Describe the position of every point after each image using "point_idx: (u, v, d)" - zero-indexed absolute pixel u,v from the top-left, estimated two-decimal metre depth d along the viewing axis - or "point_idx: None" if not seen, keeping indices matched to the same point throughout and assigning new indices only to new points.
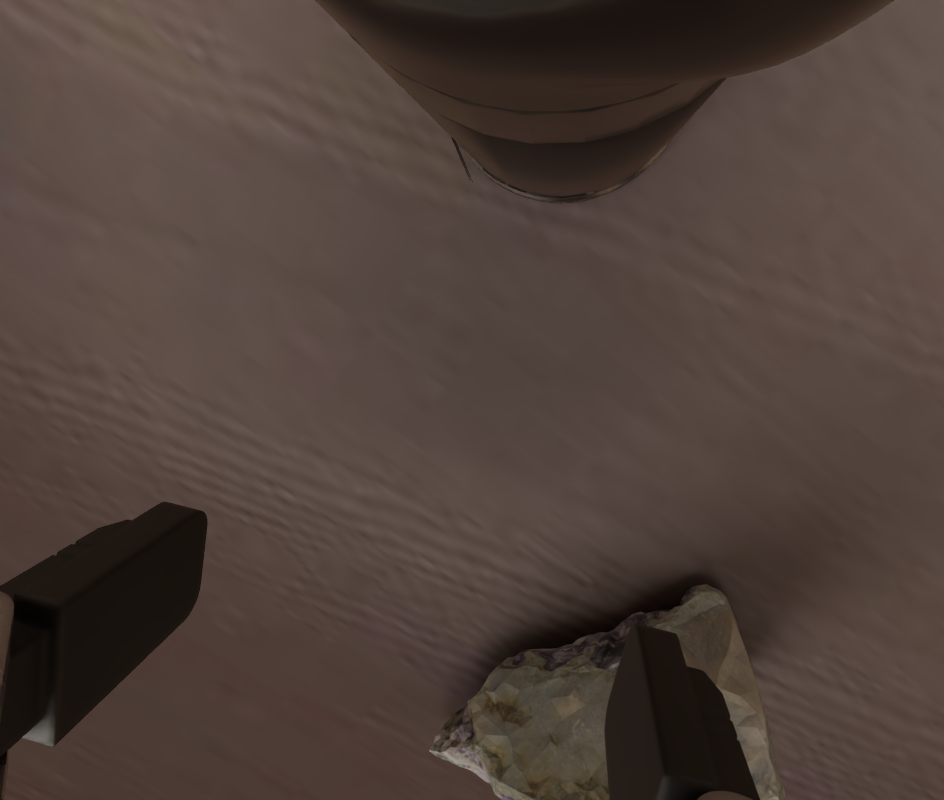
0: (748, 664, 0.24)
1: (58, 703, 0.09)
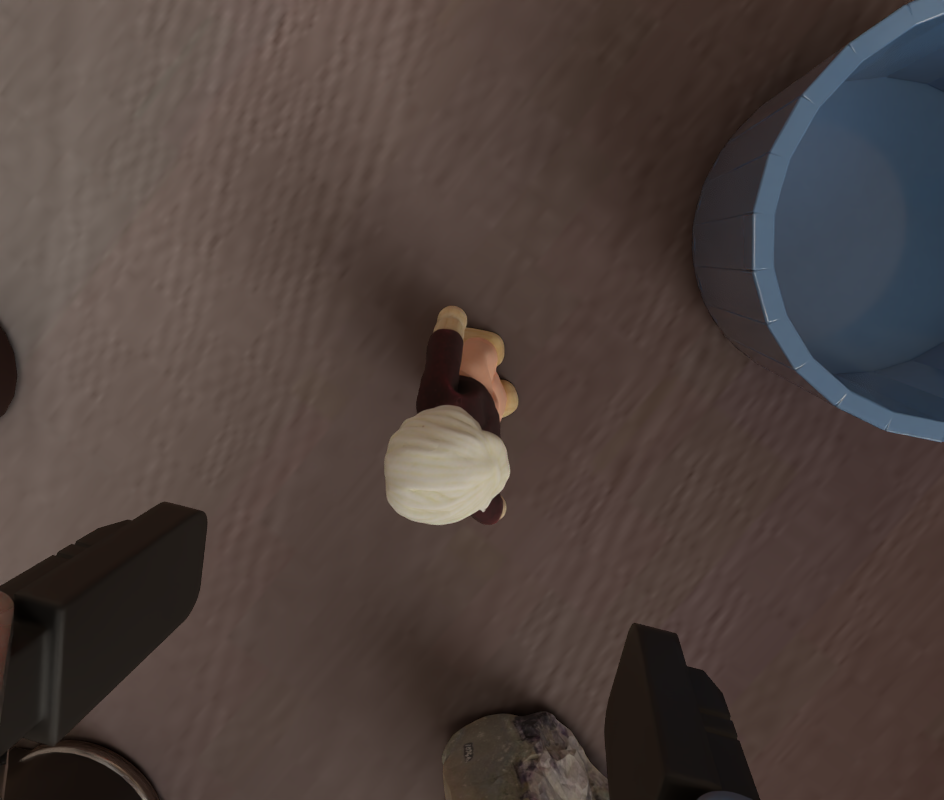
0: None
1: (58, 703, 0.09)
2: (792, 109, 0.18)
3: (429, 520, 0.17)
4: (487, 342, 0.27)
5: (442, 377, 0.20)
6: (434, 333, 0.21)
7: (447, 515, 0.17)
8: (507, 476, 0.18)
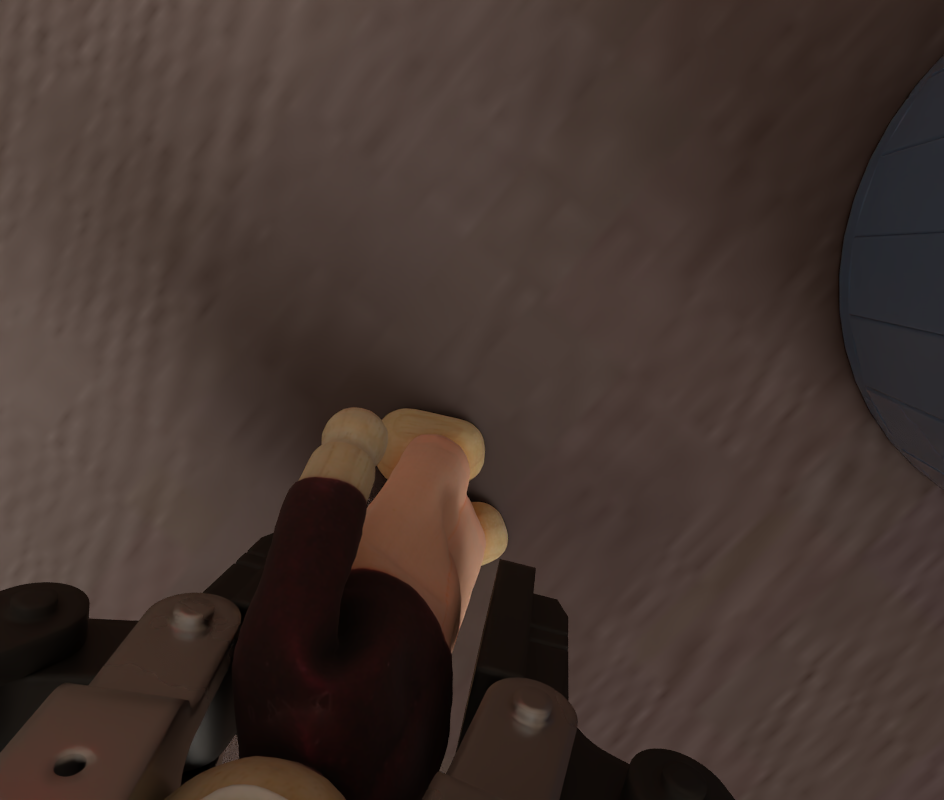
0: None
1: None
2: None
3: None
4: (450, 446, 0.15)
5: (286, 630, 0.08)
6: (293, 489, 0.09)
7: None
8: None
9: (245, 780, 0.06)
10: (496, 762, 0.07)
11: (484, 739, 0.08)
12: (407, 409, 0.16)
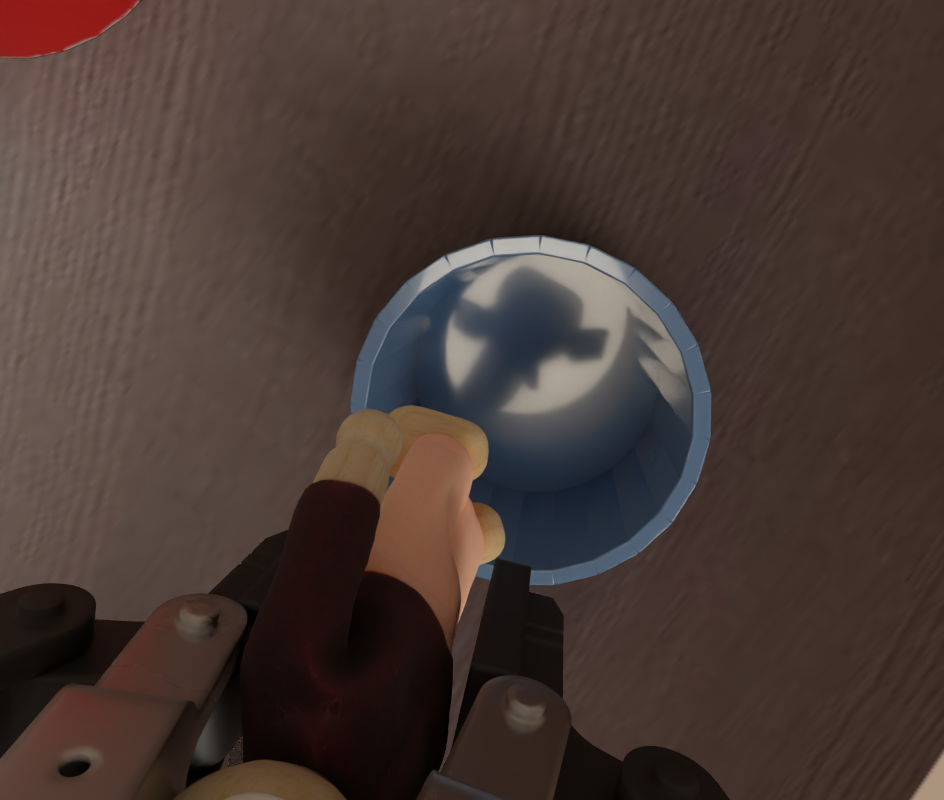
0: None
1: None
2: (371, 327, 0.22)
3: None
4: (456, 447, 0.15)
5: (299, 635, 0.08)
6: (309, 491, 0.09)
7: None
8: None
9: (257, 786, 0.06)
10: (490, 760, 0.07)
11: (477, 737, 0.08)
12: (414, 406, 0.16)
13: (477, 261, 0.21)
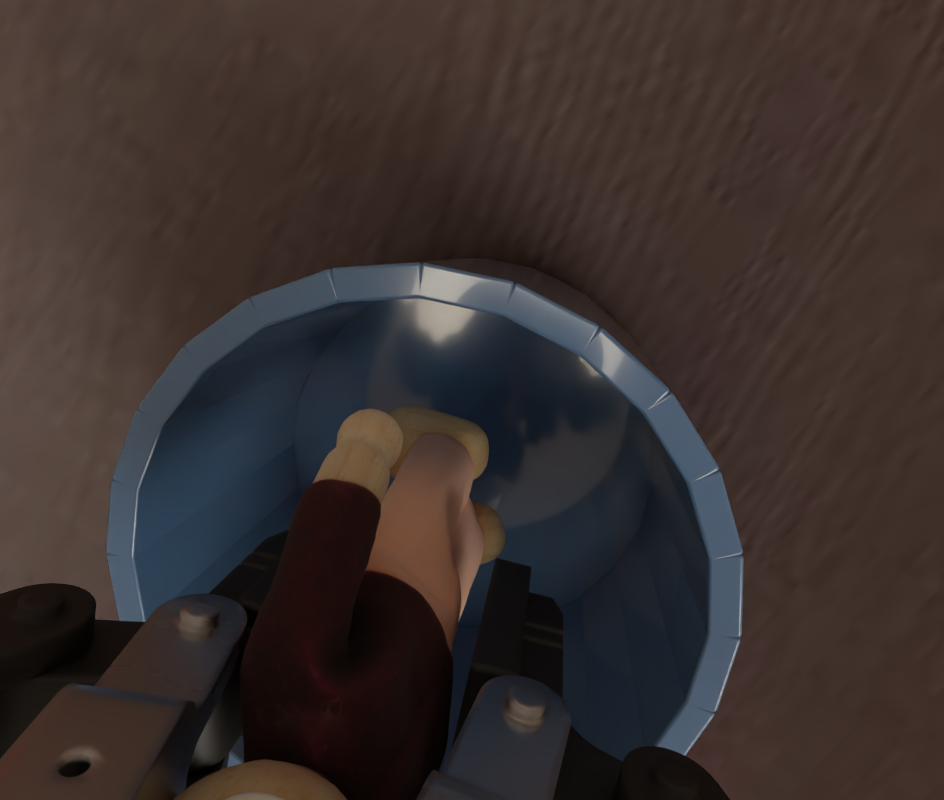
0: None
1: None
2: (132, 424, 0.12)
3: None
4: (457, 447, 0.15)
5: (300, 634, 0.08)
6: (310, 490, 0.09)
7: None
8: None
9: (258, 786, 0.06)
10: (491, 760, 0.07)
11: (478, 736, 0.08)
12: (414, 406, 0.16)
13: (307, 310, 0.11)
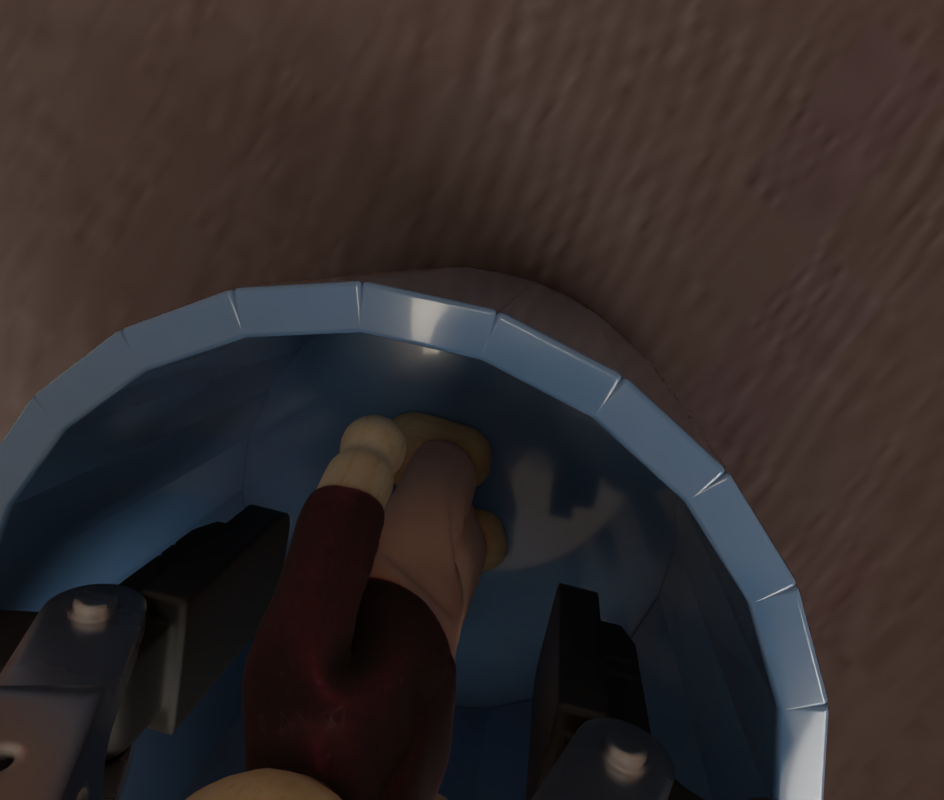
0: None
1: (178, 695, 0.10)
2: None
3: None
4: (460, 454, 0.15)
5: (303, 642, 0.08)
6: (314, 496, 0.09)
7: None
8: None
9: (261, 795, 0.06)
10: None
11: (583, 790, 0.07)
12: (417, 412, 0.16)
13: (202, 349, 0.08)
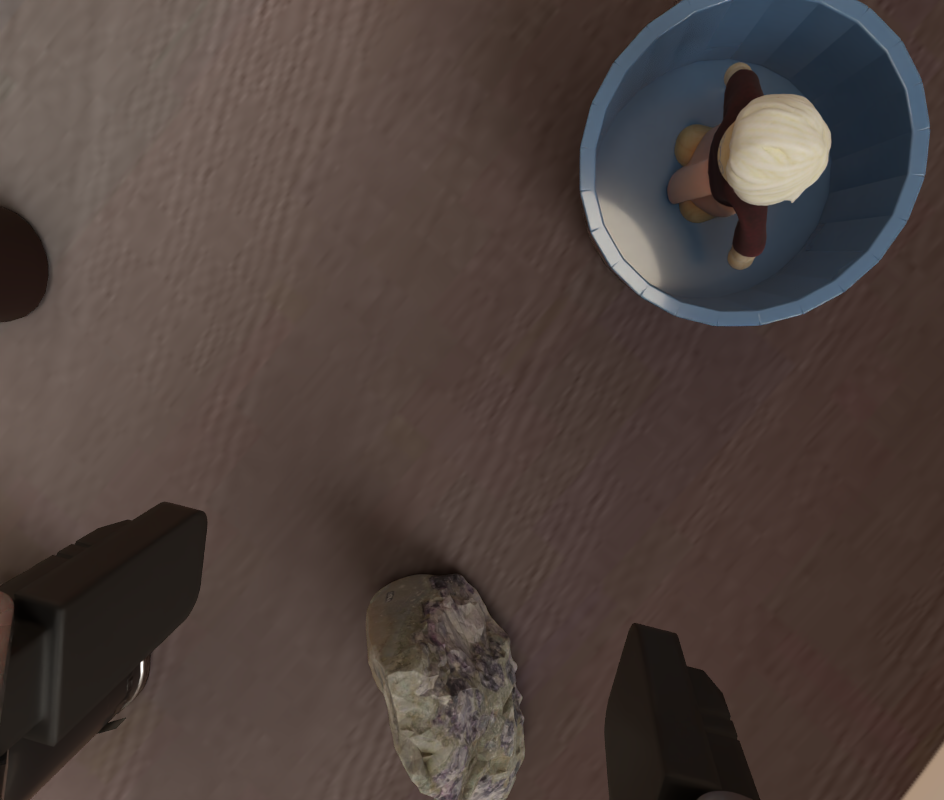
0: (368, 627, 0.35)
1: (58, 704, 0.09)
2: (608, 72, 0.24)
3: (764, 186, 0.20)
4: None
5: (755, 97, 0.23)
6: (737, 71, 0.24)
7: (781, 181, 0.20)
8: (825, 166, 0.21)
9: None
10: None
11: None
12: (698, 124, 0.31)
13: (717, 3, 0.23)
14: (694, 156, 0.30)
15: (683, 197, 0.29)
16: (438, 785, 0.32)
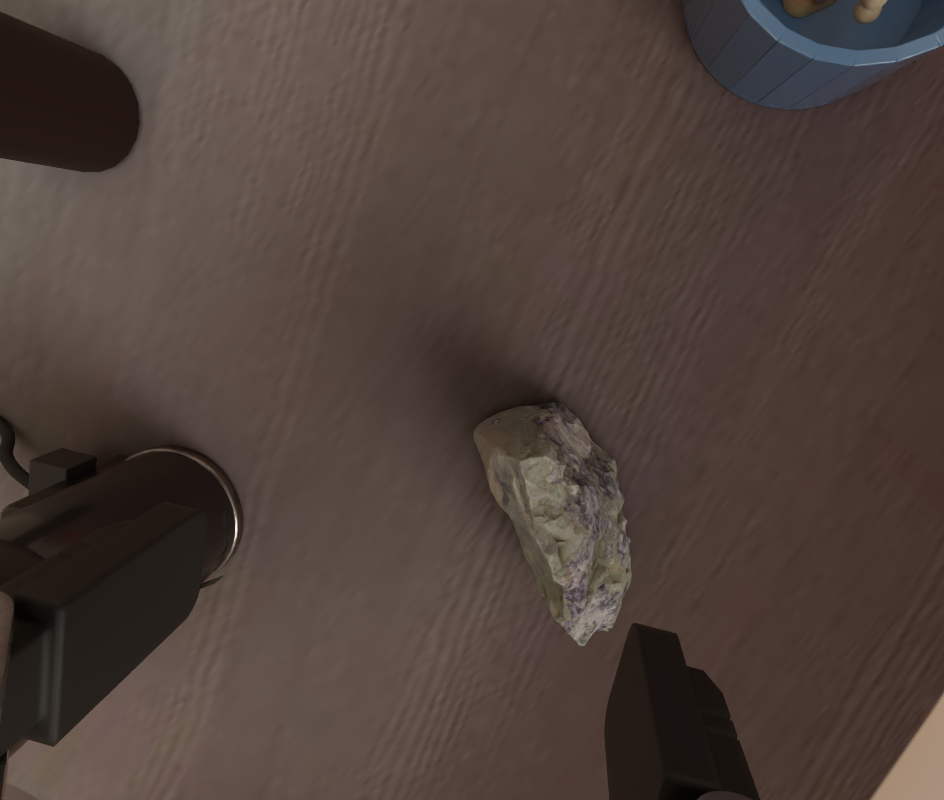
0: (484, 440, 0.35)
1: (58, 704, 0.09)
2: None
3: None
4: None
5: None
6: None
7: None
8: None
9: None
10: None
11: None
12: None
13: None
14: None
15: None
16: (570, 574, 0.32)
